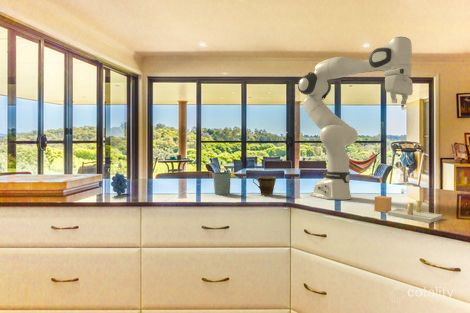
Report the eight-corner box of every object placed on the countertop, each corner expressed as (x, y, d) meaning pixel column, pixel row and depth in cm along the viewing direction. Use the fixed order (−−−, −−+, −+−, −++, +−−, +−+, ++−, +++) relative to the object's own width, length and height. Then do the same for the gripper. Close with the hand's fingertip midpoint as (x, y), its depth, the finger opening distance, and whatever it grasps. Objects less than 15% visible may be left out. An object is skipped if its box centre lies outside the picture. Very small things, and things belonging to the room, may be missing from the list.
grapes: (117, 196, 168) (117, 174, 167) (108, 195, 170) (107, 173, 170) (132, 193, 178) (132, 172, 178) (123, 192, 181) (123, 171, 180)
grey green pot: (230, 195, 176) (230, 173, 175) (212, 195, 176) (212, 173, 175) (230, 192, 186) (231, 172, 185) (213, 192, 186) (213, 171, 185)
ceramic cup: (275, 193, 183) (275, 176, 182) (276, 196, 173) (276, 178, 172) (252, 193, 184) (253, 175, 183) (252, 196, 174) (252, 177, 173)
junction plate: (387, 215, 132) (388, 200, 131) (400, 211, 139) (401, 197, 139) (430, 223, 119) (431, 207, 119) (441, 218, 127) (442, 203, 126)
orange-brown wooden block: (374, 210, 140) (374, 196, 139) (379, 209, 143) (380, 195, 142) (385, 212, 136) (386, 198, 135) (391, 211, 139) (391, 197, 138)
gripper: (403, 77, 153) (402, 106, 154) (382, 71, 141) (381, 102, 141) (417, 75, 149) (415, 105, 149) (397, 68, 136) (396, 101, 136)
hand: (399, 103), depth 145 cm, fingers open, 8 cm apart
